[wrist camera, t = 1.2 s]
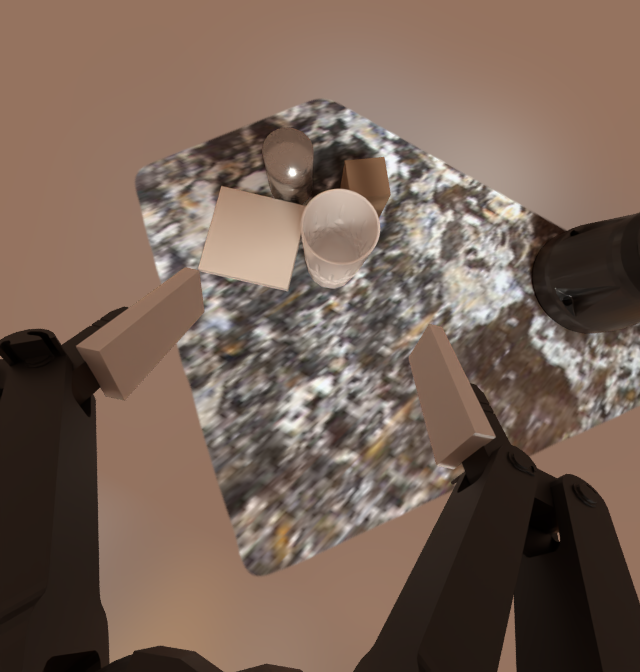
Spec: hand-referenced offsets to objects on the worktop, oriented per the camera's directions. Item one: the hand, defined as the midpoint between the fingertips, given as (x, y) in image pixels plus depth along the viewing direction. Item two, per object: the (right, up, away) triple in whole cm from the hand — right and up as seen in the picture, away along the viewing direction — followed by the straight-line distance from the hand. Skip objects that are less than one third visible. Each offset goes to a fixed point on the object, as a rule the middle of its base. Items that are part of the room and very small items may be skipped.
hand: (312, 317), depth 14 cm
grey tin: (-4, +20, +20) cm, 29 cm away
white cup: (+2, +9, +20) cm, 22 cm away
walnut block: (+6, +18, +21) cm, 28 cm away
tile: (-8, +12, +19) cm, 24 cm away
